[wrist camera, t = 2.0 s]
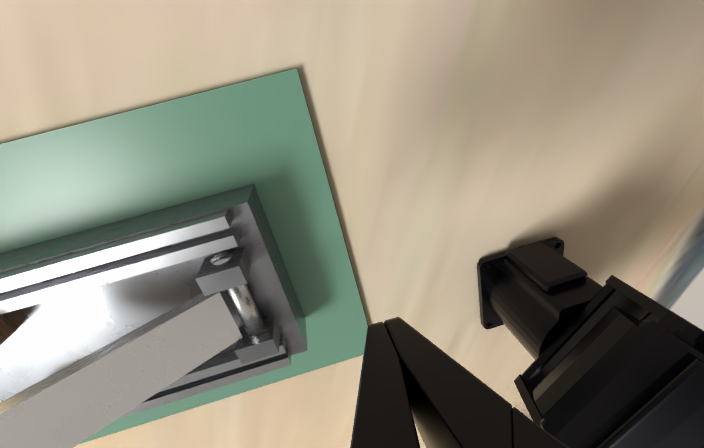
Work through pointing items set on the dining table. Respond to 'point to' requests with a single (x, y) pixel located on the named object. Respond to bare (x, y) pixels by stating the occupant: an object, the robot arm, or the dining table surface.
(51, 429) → the grey flat long bar
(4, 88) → the dining table surface
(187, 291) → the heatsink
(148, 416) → the board
